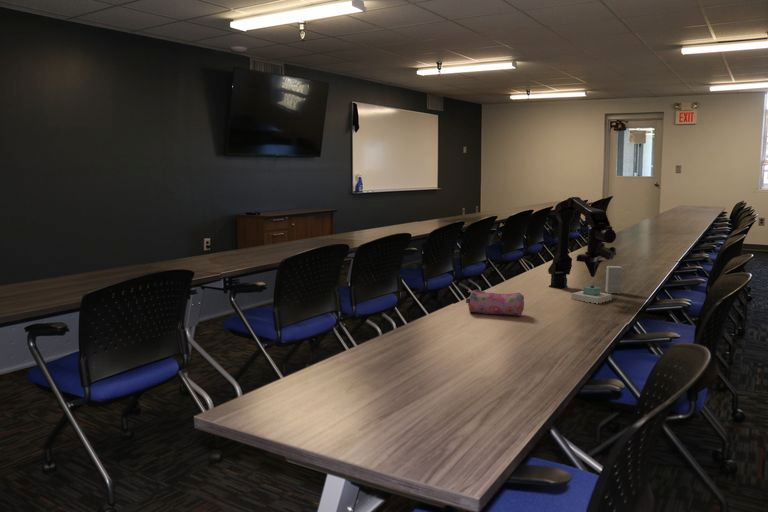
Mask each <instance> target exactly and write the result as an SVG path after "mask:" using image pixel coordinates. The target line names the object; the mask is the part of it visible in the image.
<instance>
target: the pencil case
mask: <svg viewBox="0 0 768 512" xmlns="http://www.w3.org/2000/svg"><path fill="white" fill-rule="evenodd" d="M467 293H470V295H469V297H466V298H465V304H467V305H468V310H469V311H468V312H469V313H475V314H477V313H478V314H485V315H507V316H517V317H522V314H523V311H524V308H525V301H524V299H525V296H524V295H523V294H522V293H521V292H514V293H513V292H512V293H494V292H486V291H482V290H479V289H474V290H468V291H467Z"/></svg>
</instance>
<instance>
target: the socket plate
mask: <svg viewBox="0 0 768 512" xmlns="http://www.w3.org/2000/svg"><path fill="white" fill-rule="evenodd" d="M612 297H613V295H612V293H606V292H601V291H600V295H598V296H591V295H585V294H583V290H580V291H576V292H572V293H571V297H570V298H571V299H570V300H573V299H576V300H575V301H578V300H581V301H580V302H583V301H585V302H584V303H589V302H591V303H590V304H594V303H596V304H595V305H599V304H603V303H606V302H609V300H610V301H612ZM605 301H606V302H605ZM602 302H603V303H602ZM598 303H599V304H598Z"/></svg>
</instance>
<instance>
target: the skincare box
mask: <svg viewBox="0 0 768 512" xmlns="http://www.w3.org/2000/svg"><path fill="white" fill-rule="evenodd" d="M605 273H606V274H605V292H604V293H606V292H607V294H612V293H617V294H619V295H620V294H622V281H623V267H622V266H620V265H616V266H615V265H606V271H605Z"/></svg>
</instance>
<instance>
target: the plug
mask: <svg viewBox="0 0 768 512" xmlns="http://www.w3.org/2000/svg"><path fill="white" fill-rule="evenodd" d="M582 291H583V294H585V295H591V296H598V295H600V292H601V287H599V286H595V285H594V284H589V285H588V286H584V287H583V290H582Z"/></svg>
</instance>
